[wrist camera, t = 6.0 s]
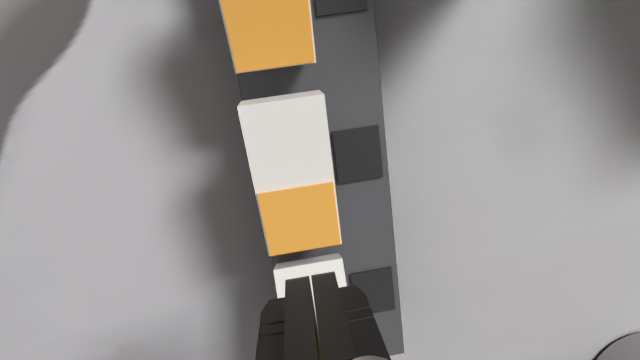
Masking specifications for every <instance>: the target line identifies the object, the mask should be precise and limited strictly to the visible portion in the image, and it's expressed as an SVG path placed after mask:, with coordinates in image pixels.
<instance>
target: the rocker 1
mask: <svg viewBox="0 0 640 360" xmlns="http://www.w3.org/2000/svg"><path fill="white" fill-rule="evenodd" d="M218 1H219V5H220V10H221V14H222V18H223V23H224V27H225V31H226V36H227V40H228V44H229V48H230V53H231V57H232V61H233V66H234V70H235V74H238V73H245V72H252V71H259V70H267V69H274V68H281V67H289V66H296V65H303V64H310V63H316V54H315V44H314V35H313V25H312V15H311V5H310V0H218Z"/></svg>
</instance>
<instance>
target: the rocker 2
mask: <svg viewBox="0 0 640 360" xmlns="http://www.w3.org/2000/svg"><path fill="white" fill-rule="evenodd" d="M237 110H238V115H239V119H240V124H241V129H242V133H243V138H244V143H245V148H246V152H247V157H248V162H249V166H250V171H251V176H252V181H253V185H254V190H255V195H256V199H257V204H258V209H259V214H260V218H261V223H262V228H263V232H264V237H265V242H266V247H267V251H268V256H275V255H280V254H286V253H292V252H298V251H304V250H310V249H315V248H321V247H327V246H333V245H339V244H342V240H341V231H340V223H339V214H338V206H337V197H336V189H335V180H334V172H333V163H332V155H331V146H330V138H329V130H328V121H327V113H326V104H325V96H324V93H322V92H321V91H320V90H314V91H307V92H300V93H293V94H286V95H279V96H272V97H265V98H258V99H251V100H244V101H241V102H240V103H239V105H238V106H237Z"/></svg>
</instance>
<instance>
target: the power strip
mask: <svg viewBox="0 0 640 360" xmlns="http://www.w3.org/2000/svg"><path fill="white" fill-rule="evenodd" d="M310 5H311V15H312V25H313V35H314V44H315V54H316V63H310V64H303V65H296V66H289V67H281V68H274V69H267V70H259V71H252V72H245V73H238V74H237V75H238V80H239V85H240V90H241V96H242V101H244V100H251V99H258V98H265V97H272V96H279V95H286V94H293V93H300V92H307V91H314V90H320V91H321V92H322V93H324V96H325V104H326V113H327V121H328V130H329V138H330V146H331V155H332V163H333V172H334V180H335V189H336V197H337V206H338V214H339V223H340V231H341V240H342V244H339V245H333V246H327V247H321V248H315V249H310V250H304V251H298V252H292V253H286V254H280V255H275V256H272V258H273V263H274V267H275V265H276V264H278V263H283V262H289V261H295V260H301V259H307V258H312V257H318V256H324V255H330V254H335V253H339V254H340V256H341V257H342V259H343V265H344V271H345V278H346V284H347V286H352V285H355V286H356V287H358V288H359V289H360V290H361V291H363V292H364V293H365V294H366V297H367V299H368V302H369V305H370V308H371V310H372V312H373V315H374V318H375V320H376V323H377V325H378V328H379V330H380V333H381V336H382V338H383V341H384V343H385V346H386V349H387V351H388V354H389V356H390V355H395V354H401V353H404V345H403V333H402V322H401V310H400V299H399V288H398V276H397V265H396V253H395V242H394V230H393V219H392V208H391V196H390V185H389V173H388V162H387V150H386V139H385V128H384V116H383V105H382V93H381V82H380V70H379V59H378V48H377V36H376V25H375V13H374V2H373V0H310Z"/></svg>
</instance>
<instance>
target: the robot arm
mask: <svg viewBox="0 0 640 360" xmlns="http://www.w3.org/2000/svg"><path fill="white" fill-rule="evenodd" d="M311 279H312V287H313V295H314V302H313V296H312V290H311V284H310V278H309V276H305V277H299V278H293V279H287V280H285V297H283V298H277V299H271V300H269V302H268V303H267V305H266V306H265V307H264V309H263V310H262V312H261V319H260V328H259V335H258V337H259V339H258V342H257V350H256V358H255V360H391V359H390V356H389V354H388V351H387V349H386V346H385V343H384V341H383V338H382V336H381V333H380V330H379V328H378V325H377V323H376V320H375V318H374V315H373V312H372V310H371V308H370V305H369V302H368V299H367V297H366V294H365V293H364V292H363V291H361V290H360V289H359V288H358V287H356V286H355V285H352V286H346V287H340V288H339V287H338V283H337V279H336V275H335V272H334V271H333V272H328V273H322V274H316V275H311ZM314 303H315V309H314ZM315 311H316V315H315ZM316 319H317V321H316ZM597 360H640V333H635V334H631V335H629V336H626V337H623V338H621V339H620V340H618V341H616V342H614V343H613V344H612V345H610V346H609V347H608V348H607V349H605V350H604V351H603V353H602V354H601V355H600V356H599V357H598V358H597Z"/></svg>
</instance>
